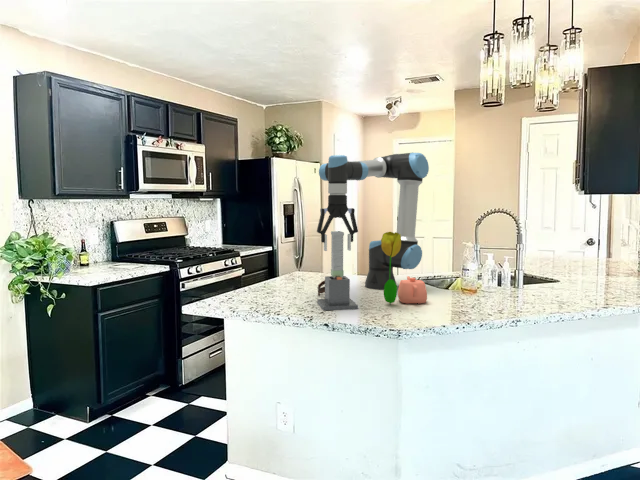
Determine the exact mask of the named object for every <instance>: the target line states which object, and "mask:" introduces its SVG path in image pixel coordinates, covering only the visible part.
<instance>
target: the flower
mask: <svg viewBox="0 0 640 480" xmlns="http://www.w3.org/2000/svg"><path fill="white" fill-rule="evenodd" d="M380 240H381V247H382V250H383V252H384V253H385V254H386V255H388V256H390V271H391V257H393V256H395V255H396V254H397V253H398V252H399V251H400V248H401V234H399V233H397V231H396V232H392V231H387V232H385V233H383V234H382V237H381V239H380ZM383 296H384V301H385V302H386V303H388V304H389V305H390V306H391V304H393V303H395V302H396V299H397V296H398V285H397V282H396V283H395V282H394V280H393V279H392V280H391V279H390V274H389V280H388V281H387V282H386V283H385V286H384V289H383Z"/></svg>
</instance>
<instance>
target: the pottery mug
mask: <svg viewBox="0 0 640 480" xmlns="http://www.w3.org/2000/svg"><path fill="white" fill-rule="evenodd" d="M316 289H317V294H318V296H321V294H325V279H324V280H322V281H321V282H320V283H319V284H318V285H317V287H316Z"/></svg>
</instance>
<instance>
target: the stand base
mask: <svg viewBox="0 0 640 480" xmlns="http://www.w3.org/2000/svg"><path fill="white" fill-rule="evenodd" d="M324 280H325V284H324V286H325V293H324V298H317V299H316V303H317V304H318V306H319V307H320V308H321V309H322V311H341V310H342V311H343V310H358V309H359V305H358V304H357V303H356V302H355V301H354V300H353V299H351V298H350V288H351V287H350V285H351V283H350V282H351V280H350V278H348V277H347V276H345V275H344V276H343V279H342V277H336V279H331V275H330V276H324Z"/></svg>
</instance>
